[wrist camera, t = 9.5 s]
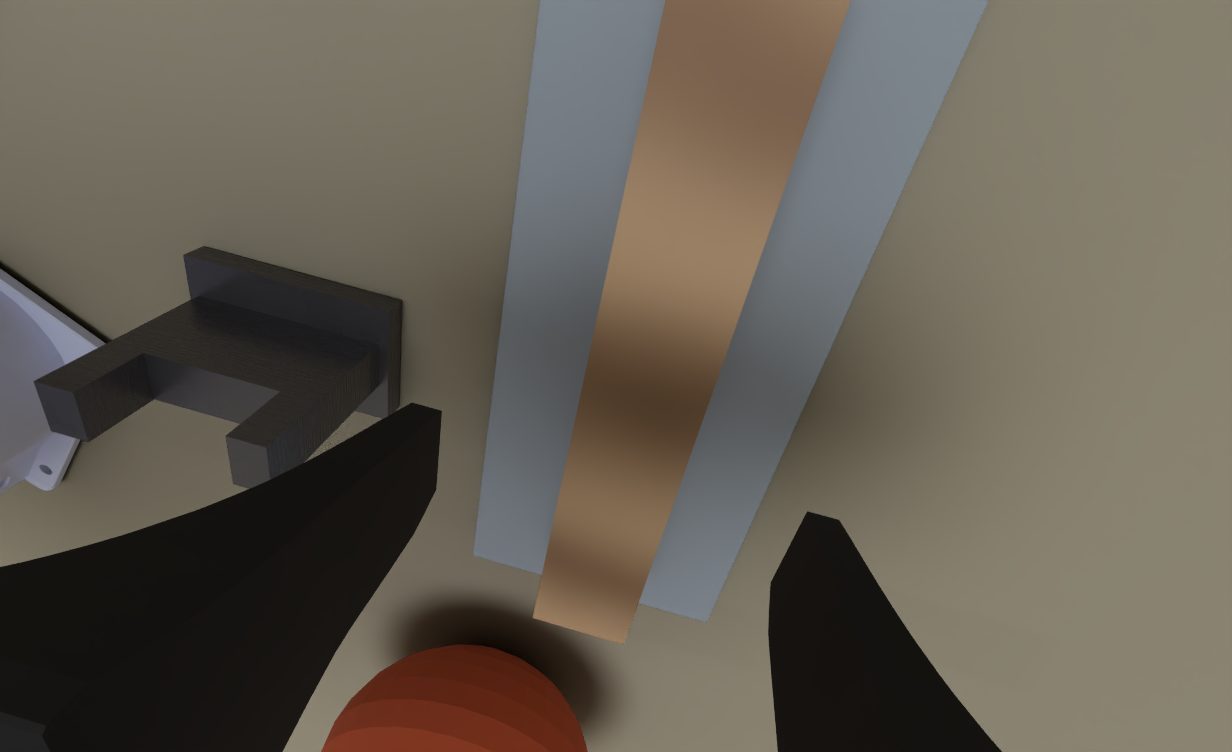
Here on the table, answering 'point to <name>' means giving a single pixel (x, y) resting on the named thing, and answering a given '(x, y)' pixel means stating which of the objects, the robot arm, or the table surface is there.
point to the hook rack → (243, 363)
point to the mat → (778, 295)
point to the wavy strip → (677, 283)
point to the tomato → (457, 707)
